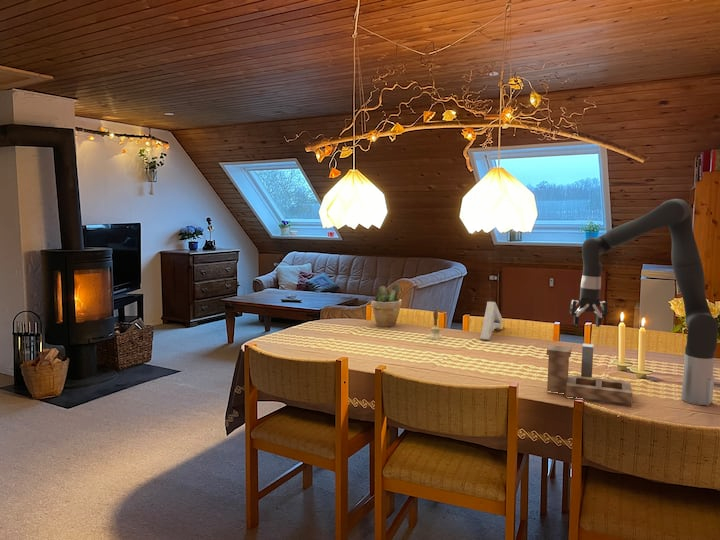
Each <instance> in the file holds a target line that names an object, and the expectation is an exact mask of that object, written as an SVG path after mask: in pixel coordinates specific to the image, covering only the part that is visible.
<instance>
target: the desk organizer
mask: <svg viewBox="0 0 720 540" xmlns="http://www.w3.org/2000/svg"><path fill="white" fill-rule="evenodd" d="M572 348H573V347H572V346H566V345H556V344H548V346H547V349H546V356H548V359H547V363H548V364H547V383H546V385H547V386H546V388H547V389H546V392H547V391H551V392H558V393H564V394H566V395H565V397H566V396H567V397H573V398H576V397H577V398H583V399H584V400H586V401H585V402H591V401H592V402H591V403H601V404H606V405H607V404H609V405H616V406H621V405H622V406H623V407H629V406H630V408H632V406H633V405H632V403H633V391H632V390H633V389H632V384H631V381H623V380H617V379H616V380H615V379H607V378H599V377H592V378H591V377H583V376H581V375H572V374H569V367H570V365H569V364H570V358H571V356H572Z"/></svg>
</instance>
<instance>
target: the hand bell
mask: <svg viewBox="0 0 720 540" xmlns="http://www.w3.org/2000/svg"><path fill="white" fill-rule="evenodd" d="M432 317H433V326H432V327H431V329H430V333H429V335H427V338H428V339H431V340H443V339H444V337H443V335H442V334H441V329H440V327H438V318H439V311H438V309H437V308H434V310H433V316H432Z"/></svg>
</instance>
